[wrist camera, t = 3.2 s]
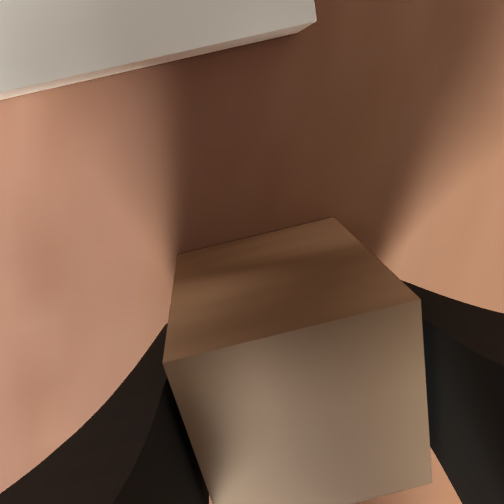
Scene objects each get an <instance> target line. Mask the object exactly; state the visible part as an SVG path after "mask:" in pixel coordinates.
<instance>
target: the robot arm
mask: <svg viewBox="0 0 504 504" xmlns="http://www.w3.org/2000/svg"><path fill="white" fill-rule="evenodd" d="M401 281H402V280H401ZM402 282H403V283H404V284H405V285H406V286H407V287H408V288H410V289H411V290H412V291H413V292H414V293H415V294H416V295H417V296H418V297H419V298H420V299H421V311H422V327H423V343H424V359H425V375H426V391H427V407H428V422H429V438H430V447H431V448H432V450H433V452H434V453H435V455H436V456H437V458H438V460H439V462H440V464H441V465H442V467H443V469H444V471H445V473H446V475H447V476H448V478H449V480H450V482H451V484H452V485H453V487H454V489H455V491H456V493H457V494H458V496H459V498H460V500H461V502H462V504H504V314H503V313H499V312H495V311H491V310H487V309H483V308H480V307H477V306H473V305H470V304H467V303H464V302H460V301H457V300H454V299H451V298H448V297H445V296H442V295H439V294H437V293H434V292H431V291H428V290H426V289H423V288H420V287H418V286H415V285H412V284H410V283H407V282H405V281H402ZM167 326H168V323H167V324H166V325H165V326H164V328H163V329H162V330H161V332H160V333H159V335H158V336H157V337H156V339H155V340H154V342H153V343H152V345H151V346H150V347H149V349H148V350H147V352H146V353H145V354H144V356H143V357H142V358H141V360H140V361H139V362H138V364H137V365H136V367H135V368H134V369H133V370H132V372H131V373H130V374H129V375H128V377H127V378H126V379H125V380H124V381H123V383H122V384H121V385H120V386H119V387H118V389H117V390H116V391H115V392H114V394H113V395H112V396H111V397H110V398H109V399H108V400H107V402H106V403H105V404H104V405H103V406H102V407H101V408H100V409H99V410H98V411H97V412H96V413H95V414H94V415H93V416H92V417H91V418H90V419H89V420H88V421H87V422H86V423H85V424H84V425H83V426H82V427H81V428H80V429H79V430H78V431H77V432H76V433H75V434H73V435H72V436H71V437H70V438H69V439H68V440H67V441H65V442H64V443H63V444H62V445H61V446H60V447H59V448H57V449H56V450H55V451H54V452H53V453H52V454H51V455H49V456H48V457H47V458H46V459H45V460H44V461H42V462H41V463H40V464H39V465H37V466H36V467H35V468H34V469H32V470H31V471H30V472H29V473H27V474H26V475H25V476H23V477H22V478H21V479H20V480H18V481H17V482H16V483H14V484H13V485H11V486H10V487H9V488H7V489H6V490H5V491H3V492H2V493H1V494H0V504H209V492H208V489H207V487H206V484H205V481H204V478H203V475H202V473H201V470H200V467H199V464H198V461H197V459H196V456H195V453H194V450H193V447H192V445H191V442H190V439H189V436H188V433H187V431H186V428H185V425H184V422H183V419H182V417H181V414H180V411H179V408H178V405H177V403H176V400H175V397H174V394H173V391H172V389H171V386H170V383H169V380H168V377H167V375H166V372H165V369H164V366H163V363H162V362H163V355H164V348H165V341H166V334H167Z"/></svg>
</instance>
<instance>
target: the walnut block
mask: <svg viewBox="0 0 504 504" xmlns="http://www.w3.org/2000/svg"><path fill="white" fill-rule="evenodd" d="M162 363H163V366H164V369H165V372H166V375H167V377H168V380H169V383H170V386H171V389H172V391H173V394H174V397H175V400H176V403H177V405H178V408H179V411H180V414H181V417H182V419H183V422H184V425H185V428H186V431H187V433H188V436H189V439H190V442H191V445H192V447H193V450H194V453H195V456H196V459H197V461H198V464H199V467H200V470H201V473H202V475H203V478H204V481H205V484H206V487H207V489H208V492H209V495H210V498H211V501H212V503H213V504H353V503H357V502H361V501H365V500H369V499H372V498H376V497H380V496H384V495H388V494H392V493H395V492H399V491H403V490H407V489H411V488H414V487H418V486H422V485H426V484H430V483H432V470H431V454H430V438H429V422H428V407H427V391H426V375H425V359H424V343H423V327H422V311H421V299H420V298H419V297H418V296H417V295H416V294H415V293H414V292H413V291H412V290H411V289H410V288H408V287H407V286H406V285H405V284H404V283H403V282H402V281H401V280H400V279H399V278H398V277H397V276H396V275H395V274H394V273H393V272H392V271H390V270H389V269H388V268H387V267H386V266H385V265H384V264H383V263H382V262H381V261H380V260H379V259H378V258H377V257H376V256H375V255H374V254H372V253H371V252H370V251H369V250H368V249H367V248H366V247H365V246H364V245H363V244H362V243H361V242H360V241H359V240H358V239H357V238H356V237H355V236H353V235H352V234H351V233H350V232H349V231H348V230H347V229H346V228H345V227H344V226H343V225H342V224H341V223H340V222H339V221H338V220H337V219H335V218H334V217H331V218H327V219H323V220H318V221H314V222H310V223H306V224H302V225H298V226H293V227H289V228H285V229H281V230H277V231H273V232H268V233H264V234H260V235H256V236H252V237H248V238H243V239H239V240H235V241H231V242H227V243H223V244H218V245H214V246H210V247H206V248H202V249H198V250H193V251H189V252H185V253H181V254H178V255H177V262H176V269H175V276H174V283H173V291H172V298H171V305H170V312H169V319H168V326H167V334H166V341H165V348H164V355H163V362H162Z"/></svg>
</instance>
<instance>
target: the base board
mask: <svg viewBox="0 0 504 504" xmlns="http://www.w3.org/2000/svg"><path fill="white" fill-rule="evenodd" d="M316 21H317V18H316V10H315V3H314V0H0V100H2V99H7V98H11V97H16V96H20V95H25V94H29V93H33V92H38V91H42V90H47V89H51V88H56V87H60V86H64V85H69V84H73V83H78V82H82V81H87V80H91V79H95V78H100V77H104V76H109V75H113V74H118V73H122V72H126V71H131V70H135V69H140V68H144V67H149V66H153V65H157V64H162V63H166V62H171V61H175V60H180V59H184V58H188V57H193V56H197V55H202V54H206V53H211V52H215V51H219V50H224V49H228V48H233V47H237V46H242V45H246V44H251V43H255V42H259V41H264V40H268V39H273V38H277V37H282V36H286V35H290V34H295V33H298V32H300V31H301V30H303V29H305V28H306V27H308V26H310V25H311V24H313V23H315V22H316Z"/></svg>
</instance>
